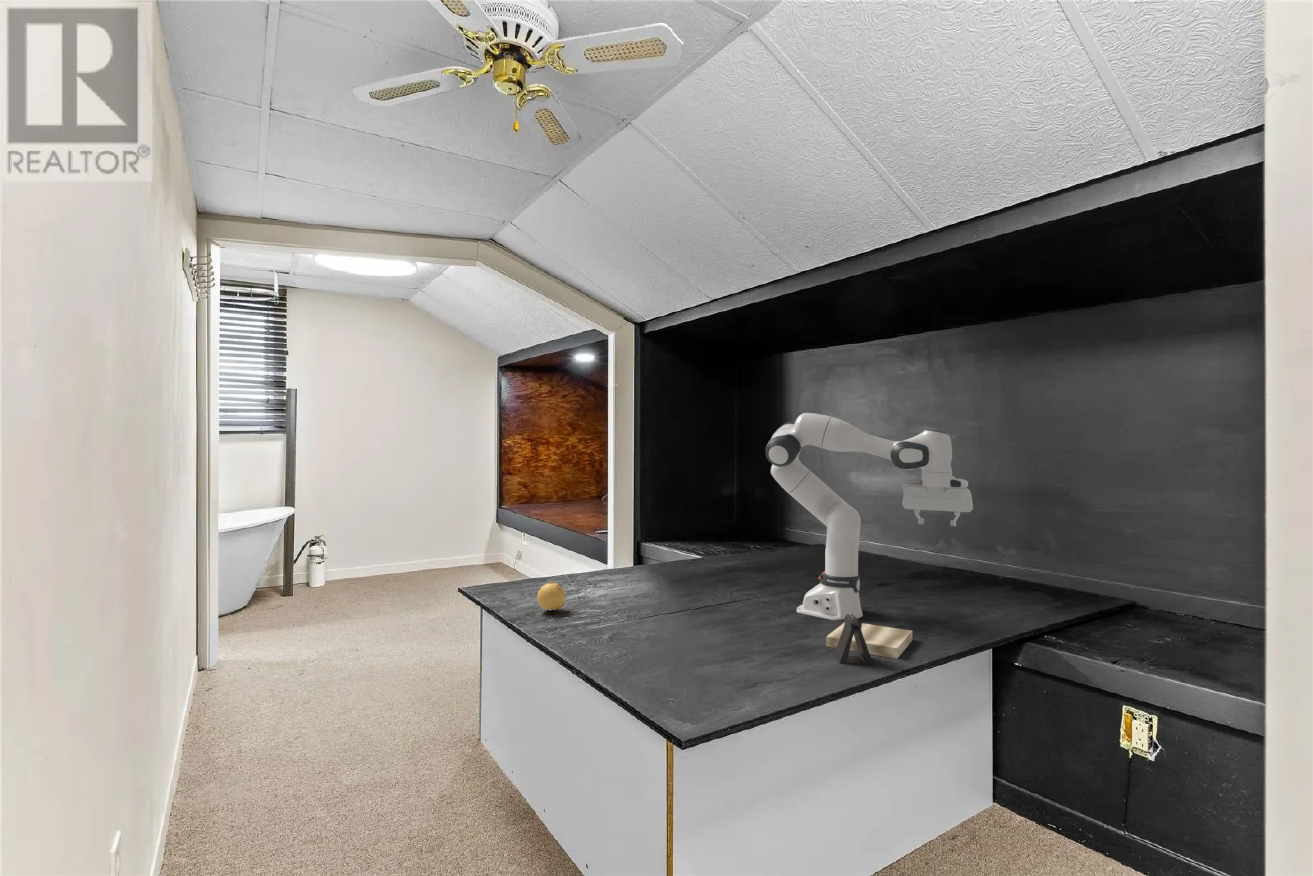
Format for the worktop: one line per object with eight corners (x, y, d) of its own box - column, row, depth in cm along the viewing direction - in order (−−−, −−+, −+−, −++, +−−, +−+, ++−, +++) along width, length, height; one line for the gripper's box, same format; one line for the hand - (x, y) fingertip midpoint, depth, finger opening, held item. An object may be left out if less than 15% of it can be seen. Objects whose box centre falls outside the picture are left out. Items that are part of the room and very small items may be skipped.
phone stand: (865, 656, 181) (865, 614, 181) (872, 664, 175) (872, 619, 175) (833, 656, 181) (833, 613, 181) (839, 664, 175) (839, 619, 175)
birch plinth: (826, 646, 190) (826, 636, 190) (846, 630, 207) (846, 620, 207) (897, 659, 179) (897, 648, 179) (912, 640, 196) (912, 630, 196)
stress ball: (562, 614, 225) (562, 585, 225) (534, 614, 225) (534, 585, 225) (567, 607, 235) (567, 579, 235) (540, 607, 235) (540, 579, 235)
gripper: (900, 480, 206) (900, 523, 206) (970, 482, 195) (970, 528, 195) (904, 479, 212) (904, 521, 212) (973, 481, 201) (973, 526, 201)
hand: (936, 525), depth 203 cm, fingers open, 8 cm apart
